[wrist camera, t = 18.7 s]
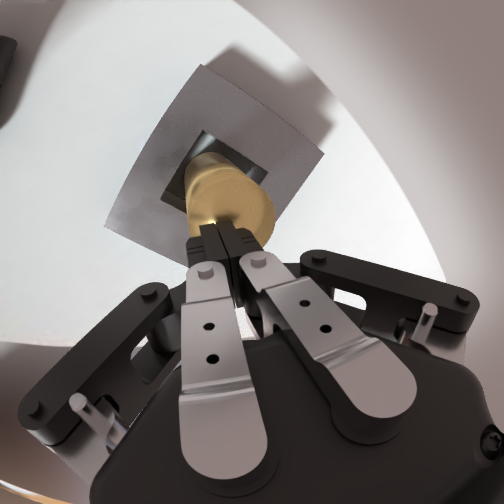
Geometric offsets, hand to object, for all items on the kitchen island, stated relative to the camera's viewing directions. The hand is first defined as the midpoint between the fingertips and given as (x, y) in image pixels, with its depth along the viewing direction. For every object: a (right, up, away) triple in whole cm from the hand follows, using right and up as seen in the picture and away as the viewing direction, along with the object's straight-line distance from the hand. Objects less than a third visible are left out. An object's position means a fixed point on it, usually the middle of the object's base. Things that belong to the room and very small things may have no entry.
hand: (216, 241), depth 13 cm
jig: (-2, +6, +10) cm, 12 cm away
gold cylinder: (-2, +6, +10) cm, 12 cm away
